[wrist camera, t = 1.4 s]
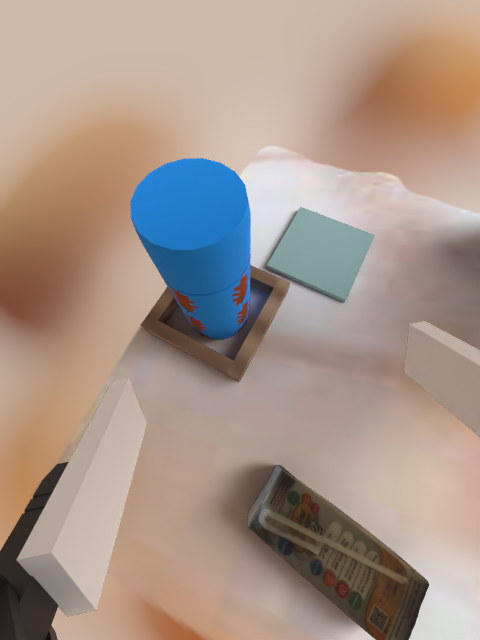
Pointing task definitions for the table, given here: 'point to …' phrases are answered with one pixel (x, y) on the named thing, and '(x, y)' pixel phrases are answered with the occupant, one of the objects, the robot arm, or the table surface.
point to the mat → (321, 253)
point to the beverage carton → (338, 557)
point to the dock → (218, 361)
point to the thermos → (199, 240)
